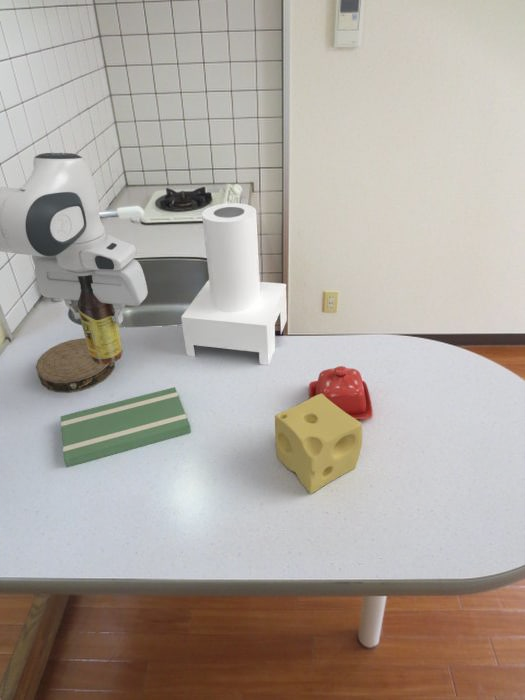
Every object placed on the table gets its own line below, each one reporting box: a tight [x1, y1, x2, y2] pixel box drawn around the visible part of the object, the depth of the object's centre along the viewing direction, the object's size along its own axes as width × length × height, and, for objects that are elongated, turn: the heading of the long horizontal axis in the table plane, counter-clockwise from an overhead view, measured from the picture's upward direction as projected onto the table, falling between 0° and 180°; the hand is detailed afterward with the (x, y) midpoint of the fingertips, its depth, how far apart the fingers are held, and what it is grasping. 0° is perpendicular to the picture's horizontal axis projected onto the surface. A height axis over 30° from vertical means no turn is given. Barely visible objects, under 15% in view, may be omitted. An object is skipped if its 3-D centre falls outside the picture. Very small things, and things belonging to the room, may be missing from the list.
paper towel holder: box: [180, 202, 288, 366], centre depth 114 cm, size 19×19×30 cm
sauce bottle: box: [77, 275, 123, 364], centre depth 96 cm, size 6×6×20 cm
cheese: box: [274, 394, 363, 495], centre depth 86 cm, size 10×11×10 cm
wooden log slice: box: [35, 337, 116, 393], centre depth 113 cm, size 16×16×3 cm
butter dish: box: [308, 365, 374, 420], centre depth 99 cm, size 12×12×8 cm
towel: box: [60, 386, 192, 468], centre depth 97 cm, size 22×12×2 cm, turn 111°
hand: (99, 320), depth 97 cm, fingers closed on sauce bottle, 6 cm apart
